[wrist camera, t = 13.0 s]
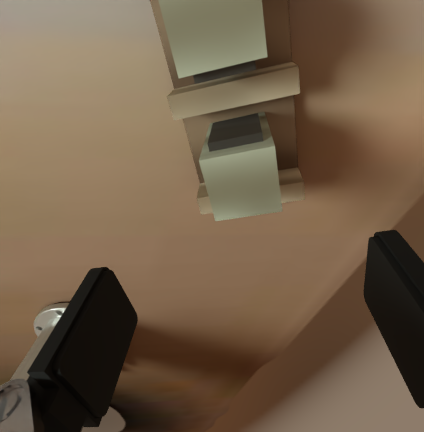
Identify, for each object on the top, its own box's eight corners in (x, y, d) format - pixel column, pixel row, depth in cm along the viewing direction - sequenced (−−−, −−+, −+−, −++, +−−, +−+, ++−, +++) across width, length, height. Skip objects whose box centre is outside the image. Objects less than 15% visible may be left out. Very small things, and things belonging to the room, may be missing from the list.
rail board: (296, 178, 24) (319, 237, 17) (205, 193, 25) (193, 252, 19) (279, -98, 15) (311, -197, 8) (140, -50, 16) (73, -102, 10)
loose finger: (270, 162, 22) (282, 211, 16) (221, 171, 23) (215, 221, 17) (263, 104, 20) (273, 136, 14) (208, 116, 20) (196, 151, 15)
